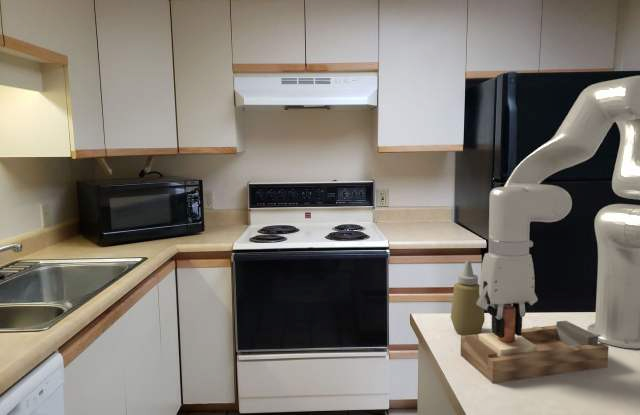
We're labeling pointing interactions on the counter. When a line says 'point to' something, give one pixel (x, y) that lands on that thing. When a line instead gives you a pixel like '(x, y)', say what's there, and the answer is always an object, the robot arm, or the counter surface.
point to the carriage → (507, 337)
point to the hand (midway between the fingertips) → (506, 333)
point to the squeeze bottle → (467, 303)
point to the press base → (539, 353)
